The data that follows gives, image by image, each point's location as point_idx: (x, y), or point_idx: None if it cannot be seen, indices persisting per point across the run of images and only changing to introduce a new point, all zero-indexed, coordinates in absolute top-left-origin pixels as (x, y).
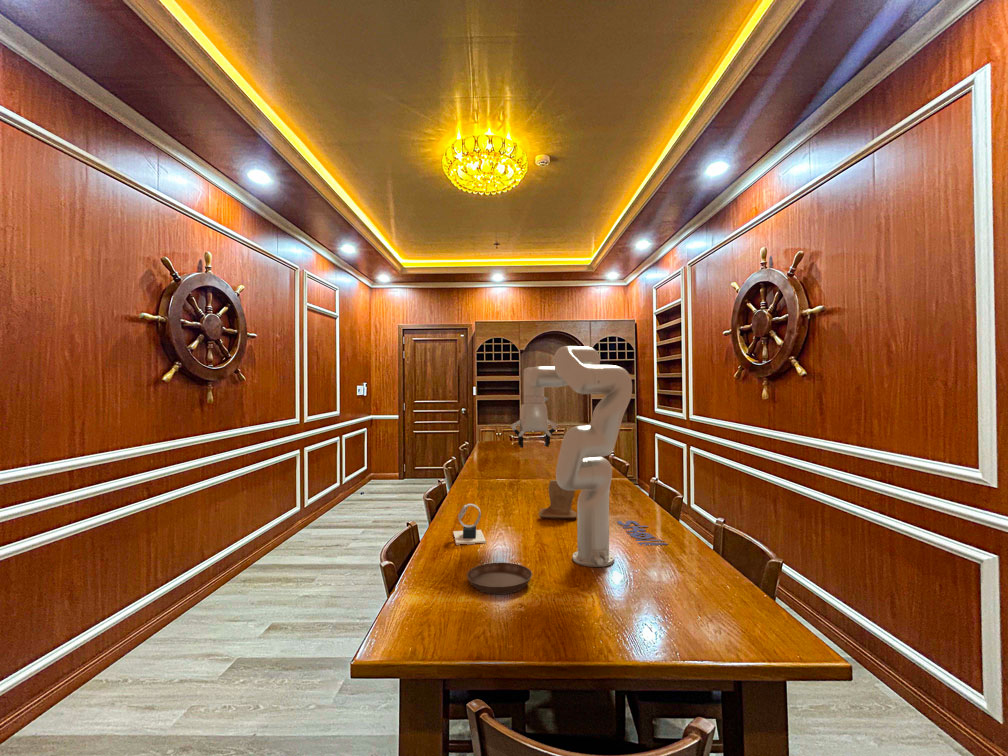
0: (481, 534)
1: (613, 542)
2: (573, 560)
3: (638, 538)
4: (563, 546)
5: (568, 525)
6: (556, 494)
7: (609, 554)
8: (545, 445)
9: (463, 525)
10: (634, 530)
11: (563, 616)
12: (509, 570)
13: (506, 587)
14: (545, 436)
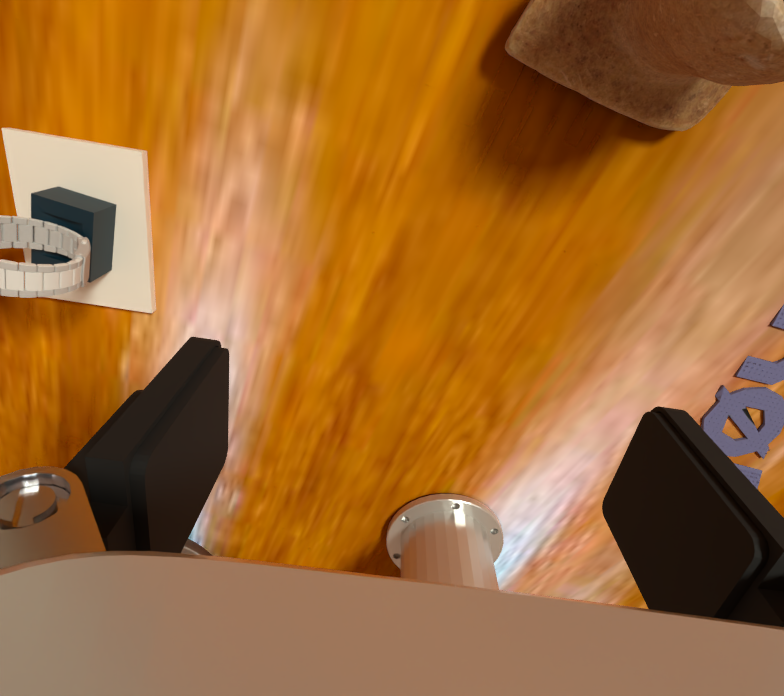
0: (140, 225)
1: (601, 443)
2: (387, 530)
3: None
4: (420, 424)
5: (588, 198)
6: (674, 47)
7: (495, 547)
8: (634, 450)
9: (23, 247)
10: (776, 371)
11: None
12: (193, 544)
13: None
14: (720, 590)
